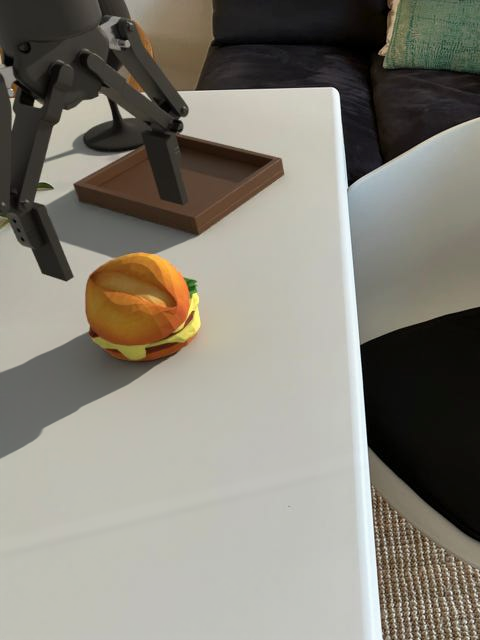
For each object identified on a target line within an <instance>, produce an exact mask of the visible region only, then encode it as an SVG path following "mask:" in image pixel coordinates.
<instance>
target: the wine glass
mask: <svg viewBox="0 0 480 640" xmlns="http://www.w3.org/2000/svg"><path fill="white" fill-rule="evenodd" d="M98 3H99V6H100V10H101V13H102V17H103V16H105V15H109V16H115V17H121V18H127V19H131V20H132V17H131V14H130V11H129V7H128V5H127V4H126V1H125V0H98ZM101 20H102V19H101ZM100 25H102V24H101V22H100V24H99V26H100ZM106 64H107V65H109V66H110V67H111V68H113V69H114V70H115V71H116V72H118V73H119V71H120V70H121V68H123V67H124V65H123V64H122V63H121V61H120V60H119V59H118V58H117V56H116V55H115V53H114V52H113V50H112V49H111V48H109V52H108V58H107V63H106ZM106 99H107V101H108V105H109V107H110V111H111V112H110V113H111V116H112V120H107V121H105V122H102V123H99V124H96V125H94V126H93V127H91V128H89V129H88V130H87V131H86V132H85V133H84V134H83V135H82V136H83V137H82V142H83V145H85V146H86V147H87V148H88V149H90V150H93V151H97V152H105V153H106V152H108V153H115V152H124V151H125V152H126V151H130V150H135V149H137V148H139V147H141V146H143V145H144V142H143V139H142V135H141V133H142V132H144V131H146V130H150V131H152V129H151V127H148V126H147V125H145V124H144V123H143V122H141V121H140V120H138V119H137V118H136V117H124V118H123V116H122V114H121V112H120V109H119V107H118V106H119V105H118V104H116V103H115V102H114V101H112V100H111V99H109V98H108V97H107V96H106Z"/></svg>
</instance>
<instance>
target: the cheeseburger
mask: <svg viewBox="0 0 480 640" xmlns="http://www.w3.org/2000/svg"><path fill="white" fill-rule="evenodd" d="M197 282H198V281H197V279H193V278H189V277H184V276H183V274H182V273H181V272H180V271H179V270H178V269H176V267H175V266H174V265H172V263H171V262H170V261H168V260H167V259H165V258H163V257H161V256H159V255H157V254H153V253H147V252H141V251H140V252H139V251H138V252H133V253H127V254H124V255H120V256H118V257H115V258H112V259H110V260H108V261H107V262H104V263H103V264H101V265H100V266H98V267H97V268H96V269H95V270H94V271H93V272H91V273H90V274H89V275H88V278H87V281H86V284H85V293H84V294H85V295H84V300H85V301H84V309H85V310H84V311H85V317H86V320H87V322H88V325H89V328H88V332H87V335H88V336H89V338H91V339H92V342H93V343H94V344H96V345H97V346H99V347H100V348H101V349H103V350H104V351H105V352H106V353H108V354H109V355H111V356H112V357H114V358H115V359H119V360H123V361H128V362H143V361H145V362H146V361H154V360H156V359H160V358H164V357H167V356H170V355H173V354H174V353H177V352H179V351H180V350H182V349H183V348H185V347H186V346H188V345H189V344H190V343H191V342H192V340H193V339H194V338H195V337H196V336H197V335H198V332H199V329H200V327H201V323H202V322H201V318H200V317H201V316H200V312H199V307H198V306H199V304H200V297H199V295H198V289H197V287H198V284H196V283H197Z"/></svg>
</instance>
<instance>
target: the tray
mask: <svg viewBox="0 0 480 640" xmlns="http://www.w3.org/2000/svg"><path fill="white" fill-rule="evenodd" d="M175 135H176V138H177V142H178V147H179V151H180V153H181V163H179V168H180V171H181V175H182V179H183V182H184V186H185V190H186V193H187V197H188V201H189V202H188V203H186V204H185V205H180V204H176V203H172V202H168V201H165V200H161V199H160V196H159V193H158V189H157V186H156V183H155V179H154V176H153V172H152V169H151V166H150V162H149V159H148V155H147V152H146V149H145V145H143V146H141V147H139V148H135V149H133V150H132V151H130V152H128V153H126V154H124V155H122V156H121V157H119V158H116V160H114V161H112V162H110V163H108V164H107V165H105V166H103V167H100V168H99V169H98V170H96V171H93V172H92V173H90V174H88V175H86V176H85V177H83V178H81V179H79V180H77V181H75V182H74V183H72V185H73V188H74V191H75V193H76V196H77V199H78V201H79V202H82V203H85V204H90V205H93V206H96V207H99V208H103V209H106V210H110V211H114V212H117V213H121V214H124V215H127V216H131V217H134V218H138V219H141V220H145V221H148V222H152V223H155V224H157V225H158V224H159V225H162V226H165V227H169V228H172V229H175V230H179V231H183V232H186V233H189V234H194V235H197V236H200V235H201V234H203V233H205V232H206V231H207V230H209V229H210V228H211V227H213V226H214V225H216V224H218V223H219V221H221V220H223V219H224V218H225V217H227V216H229V215H230V214H231V213H232V212H234V211H235V210H237V209H238V208H240V207H241V206H243V205H244V204H246V203H247V202H248V201H250V200H251V199H252V198H253V197H255V196H256V195H258V194H259V193H261V192H262V191H263V190H264V189H266V188H268V187H269V186H270V185H272V184H274V183H275V182H276V181H278V180H279V179H280V178H282V177H283V176H285V169H284V164H283V163H284V162H283V158H282V157H278V156H273V155H270V154H265V153H263V152H258V151H253V150H249V149H245V148H241V147H236V146H232V145H228V144H223V143H220V142H216V141H211V140H206V139H204V138H200V137H199V138H198V137H194V136H190V135H187V134H183V133H182V134H181V133H179V134H177V133H175Z"/></svg>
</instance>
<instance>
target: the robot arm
mask: <svg viewBox="0 0 480 640" xmlns="http://www.w3.org/2000/svg"><path fill="white" fill-rule="evenodd" d="M101 19H102V20H101ZM100 22H101V24H102V25H100V26H99V24H100ZM109 48H111V49H112V50H113V52H114V53H115V55H116V56H117V58H118V59H119V60H120V61H121V63H122V64H123V67H124V68H125V69H126V70H127V72H128V73H129V74H130V76H131V77H132V78H133V79H134V81H135V82H136V83H137V85H139V87H140V88H141V90H142V91H143V92H144V93H145V94H143V93H142V92H140V91H139V90H138V89H137V88H135V87H134V86H133V85H131V84H129V82H127V78H125V77H124V76H123V75H122V74H121V73H119V71H118V72H116V71H115V70H114V69H113V68H111V67H110V66H109V65H107V64H106V63H107V58H108V52H109ZM0 50H1V64H0V217H3V216H4V217H5V216H6V219H7V220H8V223H9V226H10V227H11V229H12V231H13V234H14V236H15V238H16V241H17V242H18V243H19V244H20V245H21V246H22V247H26V248H27V249H31V252H32V254H33V256H34V258H35V261H36V263H37V265H38V268H39V270H40V272H41V274H42V275H45V276H48V277H51V278H54V279H56V280H60V281H63V282H68V281H71V280H72V279H73V278H75V276H74V274H73V272H72V269H71V265H70V264H69V261H68V258H67V256H66V254H65V251H64V249H63V246H62V244H61V242H60V239H59V236H58V234H57V232H56V229H55V226H54V224H53V221H52V219H51V217H50V214H49V212H48V209H47V207H46V204H42V203H39V202H35V200H36V195H37V192H38V187H39V184H40V179H41V176H42V171H43V168H44V164H45V160H46V157H47V152H48V148H49V144H50V141H51V136H52V133H53V129H54V126H56V125H57V124H59V122H60V121H61V119H62V114H63V110H65V111H70V110H71V109H74V108H76V107H77V106H79V105H80V104H81V103H82V102H84V101H90V100H94V99H96V98H98V97H99V96H100V94H99V92H100V93H101V94H102V95H104V96H105V97H106V98H107V97H108V98H109V99H111V100H112V101H114V102H115V103H116V104H117V106H119V107H120V108H122V110H124V111H126V112H127V113H129V115H132V116H133V118H137V119H138V120H140V121H141V122H143V123H144V124H145V125H147V126H148V127H151V129H152V131H150V130H146V131H144V132H142V133H141V135H142V139H143V142H144V145H145V149H146V152H147V155H148V159H149V162H150V166H151V169H152V172H153V176H154V179H155V183H156V186H157V189H158V193H159V196H160V199H161V200H165V201H168V202H172V203H176V204H180V205H185V204H186V203H188V202H189V201H188V197H187V193H186V190H185V186H184V182H183V179H182V175H181V171H180V168H179V163H181V153H180V151H179V147H178V142H177V138H176V135H175V133H177V134H181V133H182V132H183V131H184V122H183V120H182V119H181V118H186V117H188V115H189V114H190V113H189V111H190V108H189V106H188V104H187V103H186V102H185V100H184V99H183V97H182V96H181V95H180V93H179V92H178V90H177V88H176V87H175V86H174V85H173V83H172V82H171V81H170V79H169V78H168V77H167V75H166V74H165V73H164V71H163V70H162V68H161V67H160V65H158V63H157V62H156V61H155V59H154V58H153V56H152V55H151V54H150V52H149V51H148V49H147V48H146V47H145V46H144V43H143V41H142V38H141V35H140V32H139V30H138V27H137V24H136V22H135V21H134V20H133V19H132V18H131V19H127V18H121V17H115V16H109V15H105V16H103V17H102V13H101V10H100V6H99V3H98V0H0ZM13 84H14V85H15V86H16V87H17V88H16V92H15V90H14V89H13V88H12V85H13ZM145 95H146V96H145ZM13 97H14V99H13V104H12V101H11V98H13ZM35 101H36V102H37V103H39V104H40V105H42V106H41V107H36V106H35ZM13 113H14V120H13V115H12V114H13ZM180 119H181V120H180Z"/></svg>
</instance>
